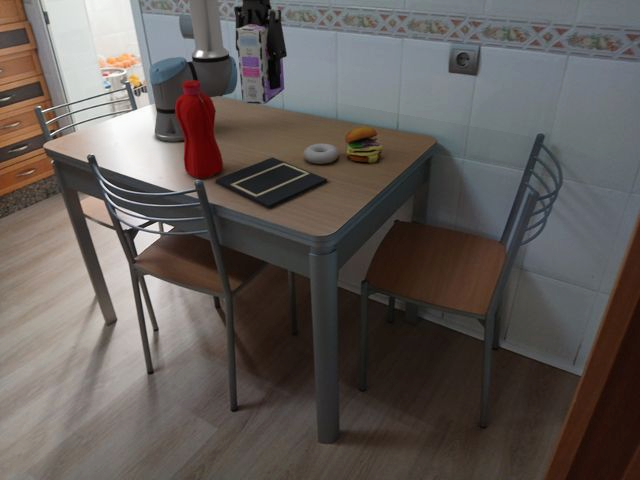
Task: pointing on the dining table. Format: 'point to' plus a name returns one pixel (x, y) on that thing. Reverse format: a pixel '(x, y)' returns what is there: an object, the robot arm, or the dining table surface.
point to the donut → (321, 153)
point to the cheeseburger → (363, 145)
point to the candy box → (255, 65)
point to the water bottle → (198, 131)
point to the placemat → (271, 182)
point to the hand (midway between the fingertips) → (263, 85)
